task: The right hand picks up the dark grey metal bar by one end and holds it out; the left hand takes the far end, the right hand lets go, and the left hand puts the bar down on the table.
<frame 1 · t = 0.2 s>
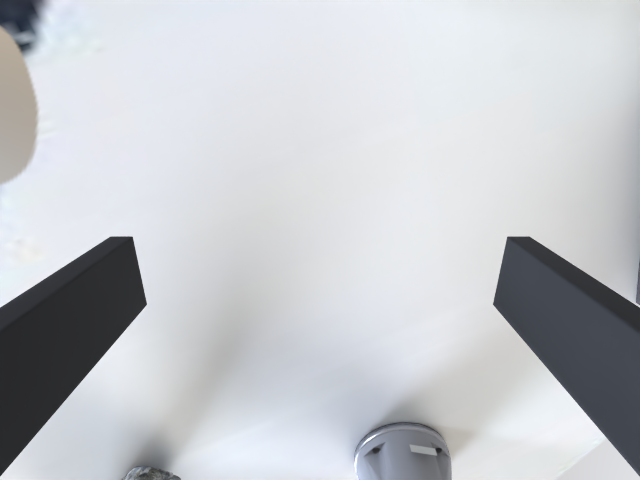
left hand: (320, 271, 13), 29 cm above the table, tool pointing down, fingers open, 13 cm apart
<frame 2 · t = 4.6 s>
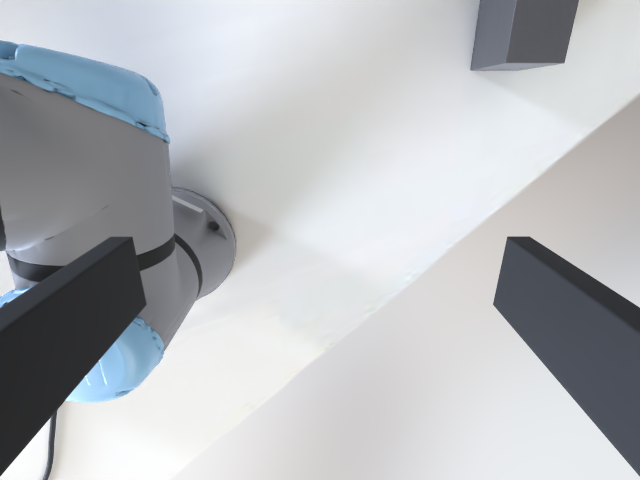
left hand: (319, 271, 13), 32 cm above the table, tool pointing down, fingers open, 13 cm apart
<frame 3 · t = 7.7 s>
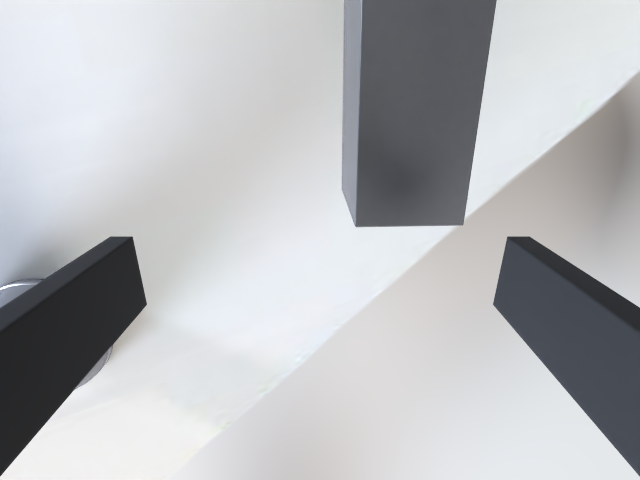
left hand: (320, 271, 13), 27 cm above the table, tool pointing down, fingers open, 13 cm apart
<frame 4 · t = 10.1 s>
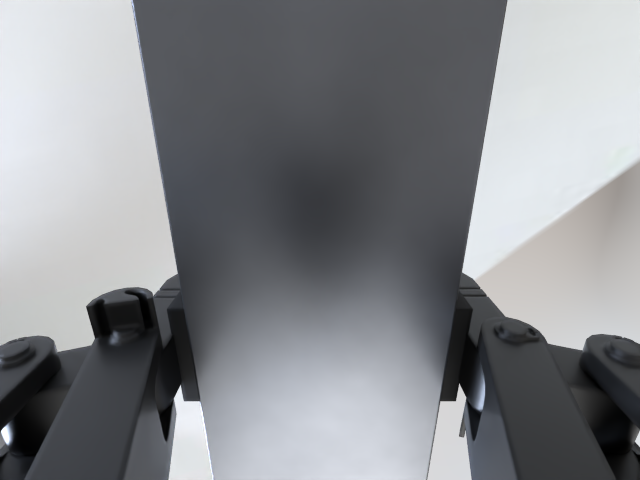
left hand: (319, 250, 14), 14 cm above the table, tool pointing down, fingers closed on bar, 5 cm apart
when the right hand's fingers open (16 cm above the table, at t = 10.9 s): bar stays where it is, held by the left hand.
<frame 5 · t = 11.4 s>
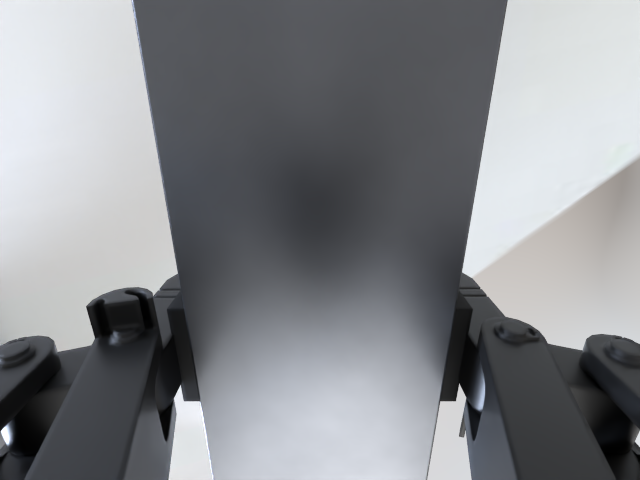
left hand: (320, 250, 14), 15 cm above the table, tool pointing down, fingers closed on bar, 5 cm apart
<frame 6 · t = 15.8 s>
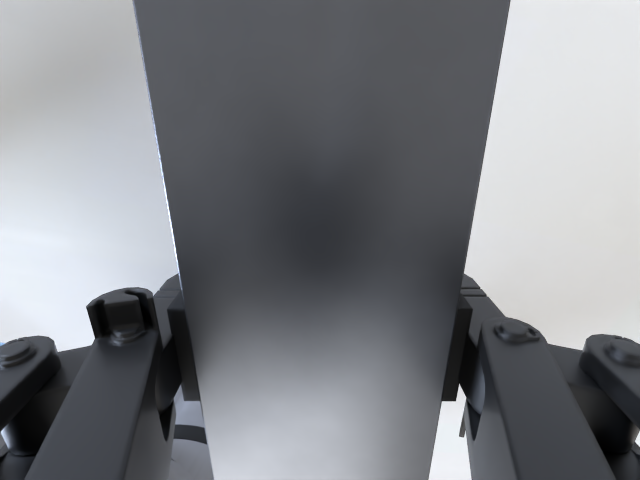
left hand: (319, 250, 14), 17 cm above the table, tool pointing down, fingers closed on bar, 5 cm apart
when the left hand's fingers open (2 cm above the table, at t = 21.5 s): bar drops 2 cm, on the table.
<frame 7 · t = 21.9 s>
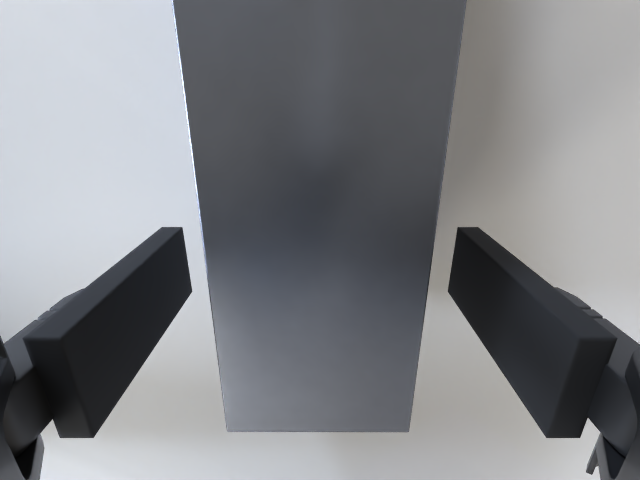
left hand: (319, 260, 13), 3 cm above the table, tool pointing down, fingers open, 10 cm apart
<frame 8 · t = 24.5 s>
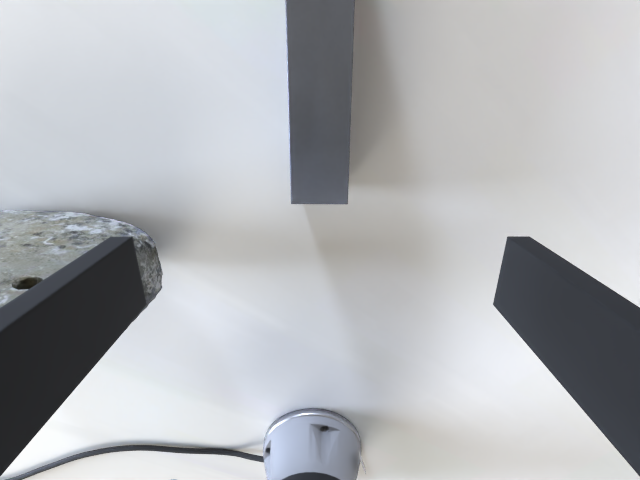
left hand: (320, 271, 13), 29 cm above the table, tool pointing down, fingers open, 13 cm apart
concrete block: (64, 241, 43), on the table
bar: (319, 57, 36), on the table
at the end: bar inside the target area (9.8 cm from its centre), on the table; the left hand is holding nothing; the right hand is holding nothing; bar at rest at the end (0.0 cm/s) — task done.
